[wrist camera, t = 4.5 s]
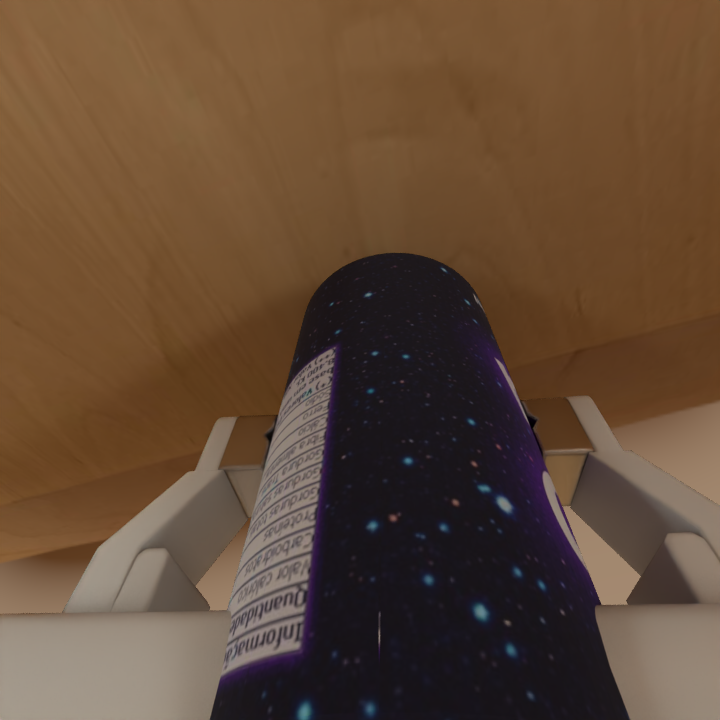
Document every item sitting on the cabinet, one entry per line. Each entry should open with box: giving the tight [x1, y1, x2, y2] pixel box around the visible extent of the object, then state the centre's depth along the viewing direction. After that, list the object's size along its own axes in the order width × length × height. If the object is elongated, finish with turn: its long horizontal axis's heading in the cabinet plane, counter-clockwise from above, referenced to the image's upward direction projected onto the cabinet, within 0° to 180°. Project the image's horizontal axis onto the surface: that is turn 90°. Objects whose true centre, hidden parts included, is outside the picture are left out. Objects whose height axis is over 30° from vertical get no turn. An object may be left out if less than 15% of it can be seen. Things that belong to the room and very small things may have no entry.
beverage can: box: [210, 253, 630, 720], centre depth 9 cm, size 6×6×12 cm
